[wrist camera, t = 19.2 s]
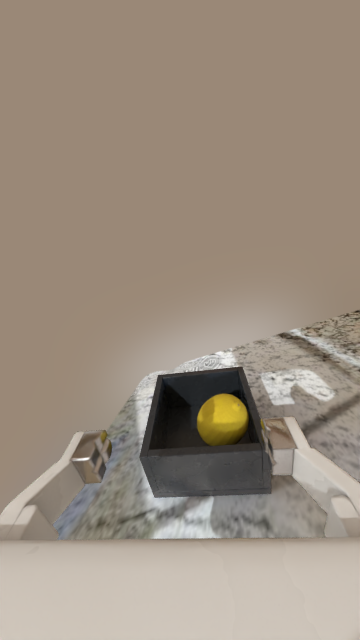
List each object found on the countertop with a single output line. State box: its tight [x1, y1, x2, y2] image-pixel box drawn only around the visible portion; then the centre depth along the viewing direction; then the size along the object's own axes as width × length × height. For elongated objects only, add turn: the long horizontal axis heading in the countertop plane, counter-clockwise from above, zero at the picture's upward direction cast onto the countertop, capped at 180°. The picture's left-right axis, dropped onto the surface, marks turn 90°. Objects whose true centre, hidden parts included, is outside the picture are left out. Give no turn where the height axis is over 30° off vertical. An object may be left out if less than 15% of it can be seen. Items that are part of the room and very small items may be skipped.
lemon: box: [197, 394, 249, 446], centre depth 26 cm, size 6×6×8 cm
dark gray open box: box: [140, 367, 271, 498], centre depth 28 cm, size 13×13×7 cm
